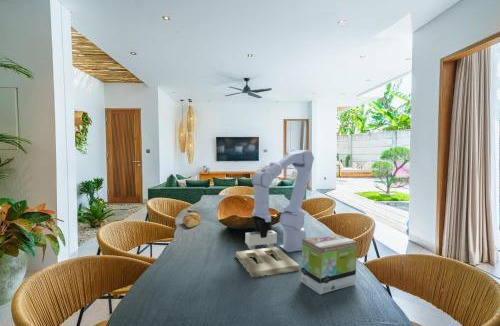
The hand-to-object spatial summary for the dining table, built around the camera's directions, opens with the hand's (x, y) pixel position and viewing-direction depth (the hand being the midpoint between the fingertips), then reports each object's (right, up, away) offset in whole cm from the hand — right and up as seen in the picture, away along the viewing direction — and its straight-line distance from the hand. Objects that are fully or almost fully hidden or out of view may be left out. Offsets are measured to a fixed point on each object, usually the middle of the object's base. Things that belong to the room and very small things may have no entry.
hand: (261, 235), depth 112 cm
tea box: (+21, -11, -20) cm, 31 cm away
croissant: (-39, -7, +53) cm, 66 cm away
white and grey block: (0, -5, 0) cm, 5 cm away
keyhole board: (+2, -10, -4) cm, 10 cm away
